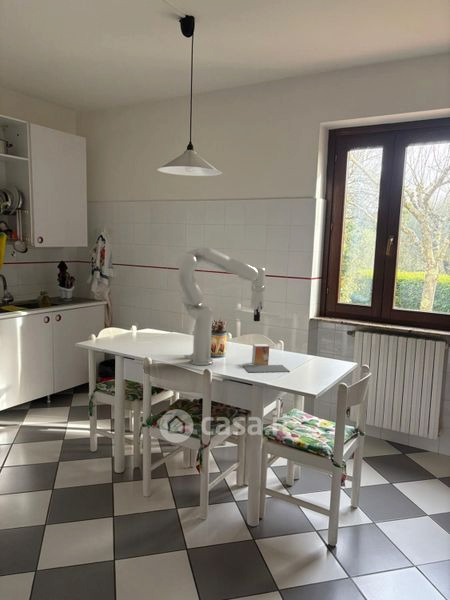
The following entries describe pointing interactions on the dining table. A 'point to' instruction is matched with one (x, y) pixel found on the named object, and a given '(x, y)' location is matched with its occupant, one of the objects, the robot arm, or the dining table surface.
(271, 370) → the mat
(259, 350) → the small box
